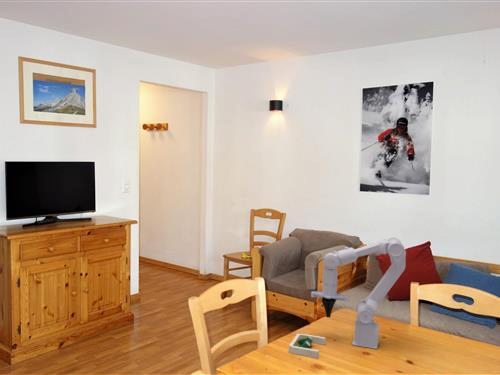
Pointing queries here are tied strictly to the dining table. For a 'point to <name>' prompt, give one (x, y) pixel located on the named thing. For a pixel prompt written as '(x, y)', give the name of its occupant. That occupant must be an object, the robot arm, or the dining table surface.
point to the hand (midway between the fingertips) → (328, 316)
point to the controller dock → (305, 351)
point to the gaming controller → (305, 342)
